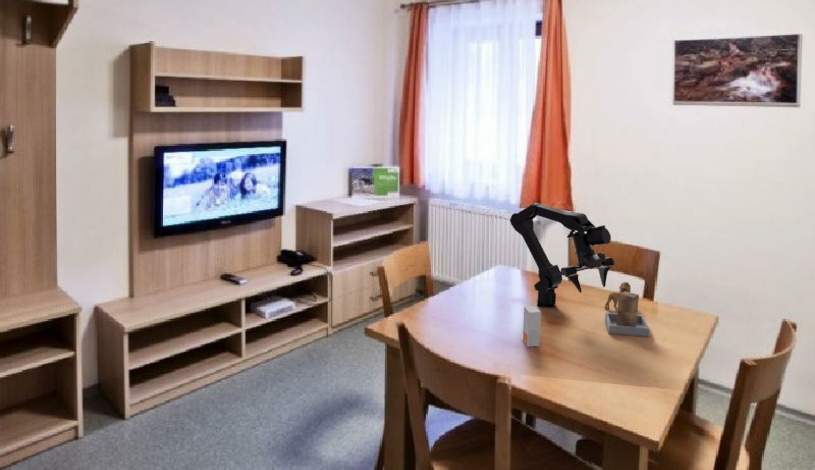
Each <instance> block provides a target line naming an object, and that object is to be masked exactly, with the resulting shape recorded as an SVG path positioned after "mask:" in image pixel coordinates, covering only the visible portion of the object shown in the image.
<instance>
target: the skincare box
mask: <svg viewBox="0 0 815 470" xmlns="http://www.w3.org/2000/svg"><path fill="white" fill-rule="evenodd" d="M523 307H524V308H523V324H522V325H523V326H522V341H523V342H524V344H525V345H526V347H529V348H530V346H531V347H533V346H537V347H540V342H541V324H542V323H541V321H542V311H541V310H540V308H539V307H538V306H537V305H533V306H532V305H529V306H528V305H524V306H523Z"/></svg>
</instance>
